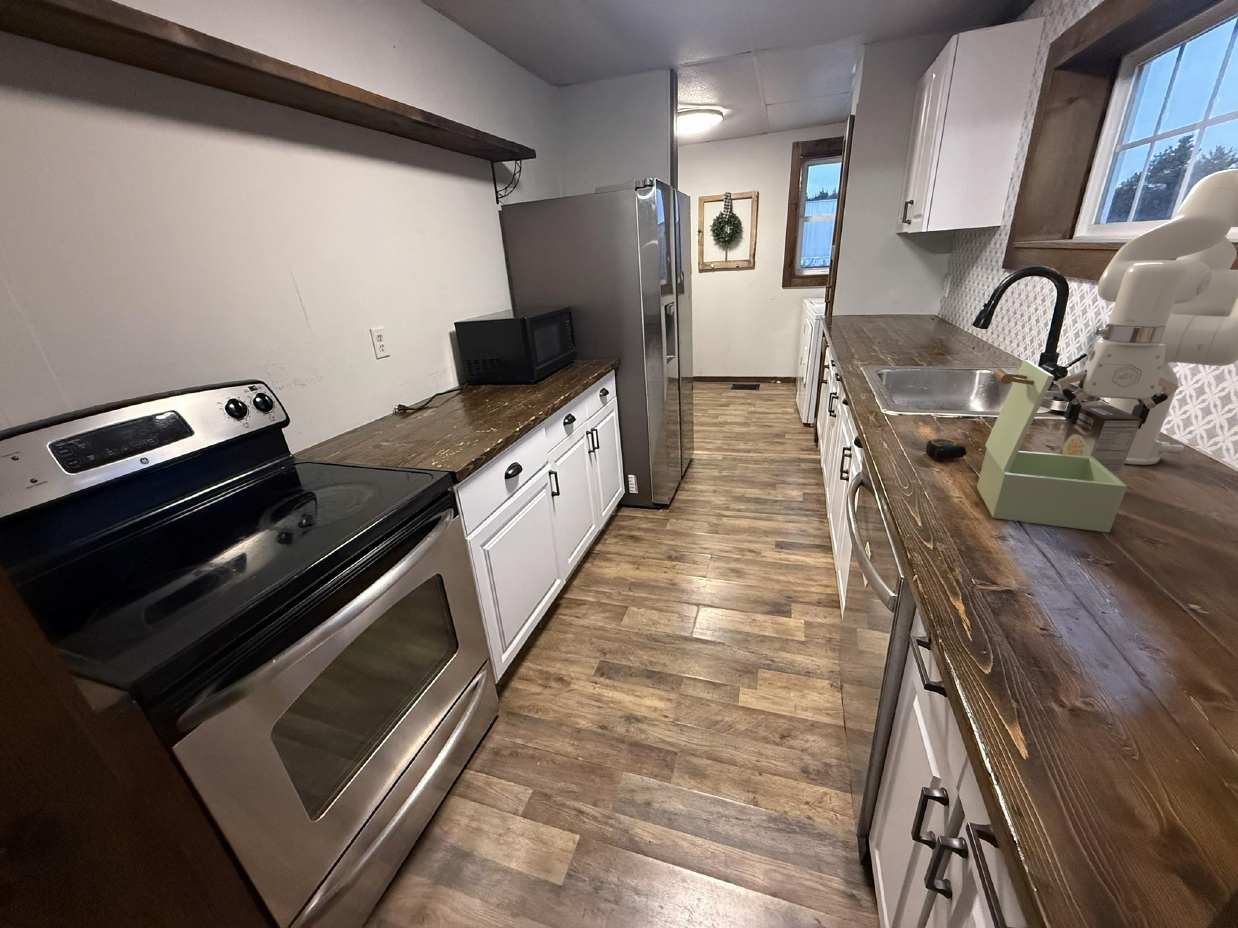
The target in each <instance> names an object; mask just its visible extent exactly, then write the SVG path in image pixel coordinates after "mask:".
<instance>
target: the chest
mask: <svg viewBox="0 0 1238 928" xmlns="http://www.w3.org/2000/svg"><path fill="white" fill-rule="evenodd" d="M976 489H977V491H978V493H979V495H980V497H981V498H982V500H983V502H984V504H985V506H986V508H987V510H988V512H989V513H990V515H991V517H992V518H993V519H998V520H1008V521H1016V522H1022V523H1030V524H1038V525H1044V526H1045V525H1046V526H1047V525H1048V526H1053V527H1054V526H1055V527H1060V528H1061V527H1062V528H1070V529H1077V530H1085V531H1094V532H1101V533H1107V534H1108V533H1111V530H1112V527H1113V525H1114V523H1115V520H1116V517H1117V514H1118V511H1119V509H1120V507H1121V504H1122V501H1123V499H1124V497H1125V493H1126V491H1127V489H1128V485H1126V484H1125V483H1124V482H1123V481H1122V480H1120V478H1119V479H1118V478H1117V477H1116V476H1115V475H1113V474H1112V473H1111V472H1110V471H1109V470H1108V469H1106V468H1105V467H1104V466H1103V465H1102V464H1101V463H1099V462H1098V461H1097V460H1096V459H1095V458H1094V457H1088V456H1076V455H1064V454H1060V453H1050V452H1039V451H1026V450H1019V451H1018V453H1017V455H1016V457H1015V459H1014V461H1013V463H1012V465H1011V467H1010V469H1009V471H1008V472H1004V471H1003V470H1002V469H1001V468H1000V466H999V465H998V463H997V462H996V460H995V459H994V457H993V456H992V455H991V453H990V452H989V450H988V449H987V448H986V450H985V453H984V457H983V461H982V465H981V469H980V473H979V477H978V481H977V484H976Z"/></svg>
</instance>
